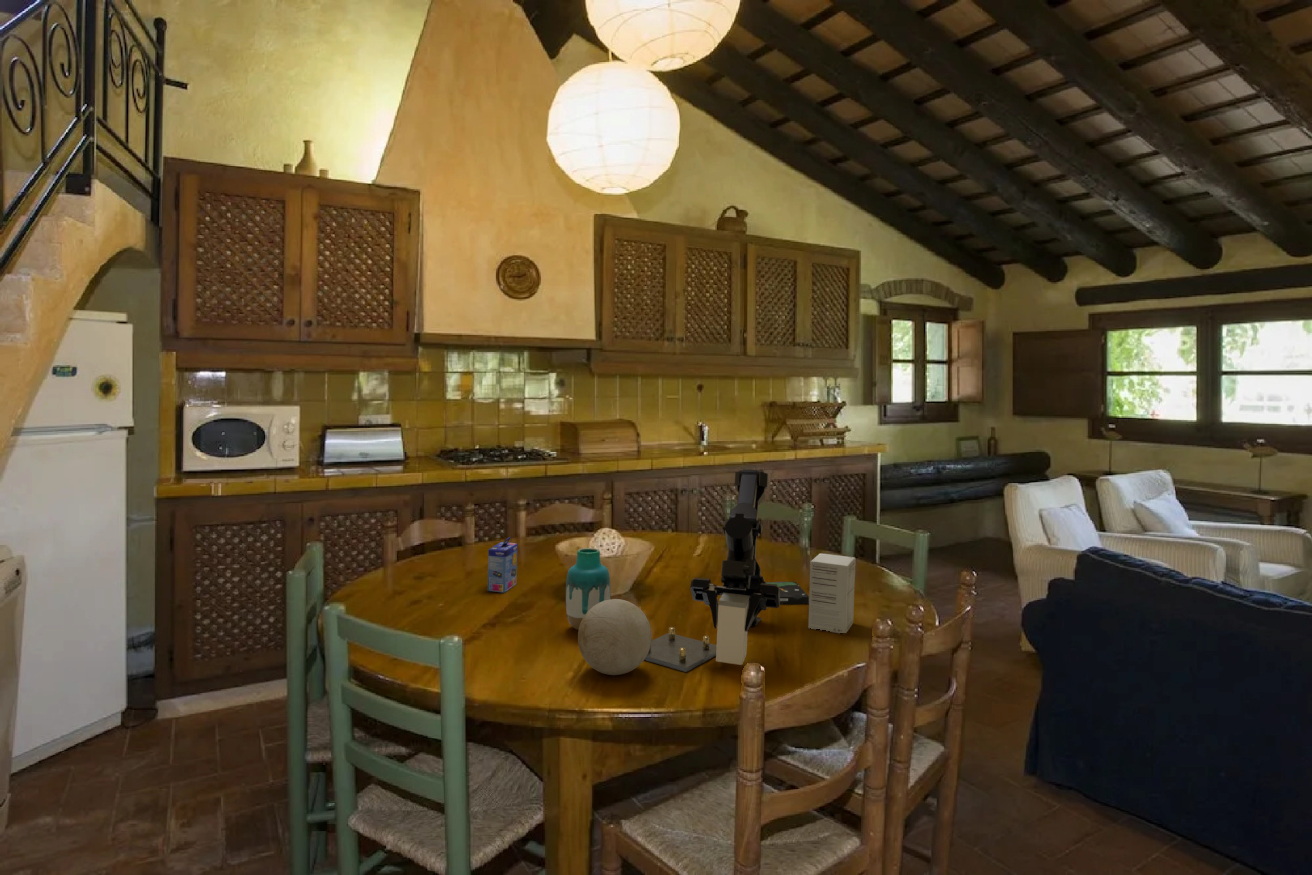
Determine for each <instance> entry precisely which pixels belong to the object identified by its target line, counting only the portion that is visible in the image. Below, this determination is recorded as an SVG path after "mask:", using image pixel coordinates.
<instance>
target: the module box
mask: <svg viewBox="0 0 1312 875" xmlns="http://www.w3.org/2000/svg"><path fill="white" fill-rule="evenodd" d="M718 599H719V600H718V621H717V627H716V631H717V633H716V645H717V646H716V656H715V662H719V663H726V664H731V665H732V664H733V665H739V666H743V663H744V661H745V660H746V659H745V658H746V657H747V647H748V646H747V645H748V631H749V630H748V631H747V632H746V631H745V624H746V618H747V614H748V610H749V596H748V595H740V594H731V593H723V595H720V598H718Z"/></svg>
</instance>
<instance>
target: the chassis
mask: <svg viewBox="0 0 1312 875" xmlns="http://www.w3.org/2000/svg"><path fill="white" fill-rule="evenodd" d="M716 646H717V644H713V643H710V636H709V635H703V636H702V640H698V639H695V638H691V637H688V636H687V637H686V636H682V635H679V634H676V627H674V626H670V627H668V633H665V634H663V635H661V636H659V637H657V638H653V639H651V646H650V649H649V652H648V654H647V656H646V657H645V659H644V661H646V662H649V663H652V664H657V665H660V666H663V667H666V668H670V669H673V670H676V671H680V672H682V673H683V672H684V673H688V672H689V671H691V670H693V669H695V668H697V667H698V666H701V665H702V664H704V663H706V662H708V661H710V660H712V659H713V658H716Z"/></svg>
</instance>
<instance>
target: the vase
mask: <svg viewBox="0 0 1312 875" xmlns="http://www.w3.org/2000/svg"><path fill="white" fill-rule="evenodd" d="M610 599H611V576H610V571H609V569H608V568H607V566H606V565H603V564H602V562H601V551H600V549H598V548H593V547H587V548H586V547H585V548H580V549H578V550H577V551H576V562H575V564H574V565H572V566H571V567H570V568H569V569H568V571H567V575H566V580H565V609H566V617H567V622H568V623H569V625H570V626H571V628H574V629H575V630H578V631H579V626H580V624H581V621H582V619H583V618H584V616H585V614H586V613H587V612H588V611H589V610H590V609H591V608H592V607H593V606H595V605H596V604H598V603H600V602H602V601H605V600H610Z"/></svg>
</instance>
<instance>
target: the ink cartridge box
mask: <svg viewBox="0 0 1312 875" xmlns="http://www.w3.org/2000/svg"><path fill="white" fill-rule="evenodd" d="M510 540H511V536H509V537H507V538H505V540H504V541H501V542H499V543H497V544H496V545H493V546H492V547H490V548H489V549H488V552H487V556H488V557H487V558H488V559H487V560H488V562H487V592H491V593H492V592H493V593H494V592H495V593H501V594H505V593H507V591H509V590H510V589H512V588H513V587H514V586H516V585H517V575H518V574H517V573H518V572H517V570H518V543H516V542H509V541H510Z"/></svg>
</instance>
